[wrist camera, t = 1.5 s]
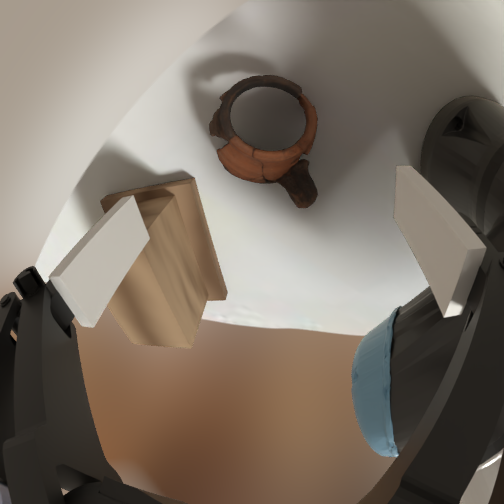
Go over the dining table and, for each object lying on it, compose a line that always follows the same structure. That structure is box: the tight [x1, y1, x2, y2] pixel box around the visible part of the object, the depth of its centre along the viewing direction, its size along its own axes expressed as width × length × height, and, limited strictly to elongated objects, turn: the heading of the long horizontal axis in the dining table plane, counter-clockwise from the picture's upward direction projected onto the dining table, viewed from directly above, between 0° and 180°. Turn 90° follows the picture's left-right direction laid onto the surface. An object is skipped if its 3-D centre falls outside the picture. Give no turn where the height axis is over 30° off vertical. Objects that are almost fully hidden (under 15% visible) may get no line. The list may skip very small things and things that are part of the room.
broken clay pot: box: [209, 75, 318, 208], centre depth 23 cm, size 12×10×8 cm
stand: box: [100, 178, 228, 348], centre depth 30 cm, size 12×16×10 cm
